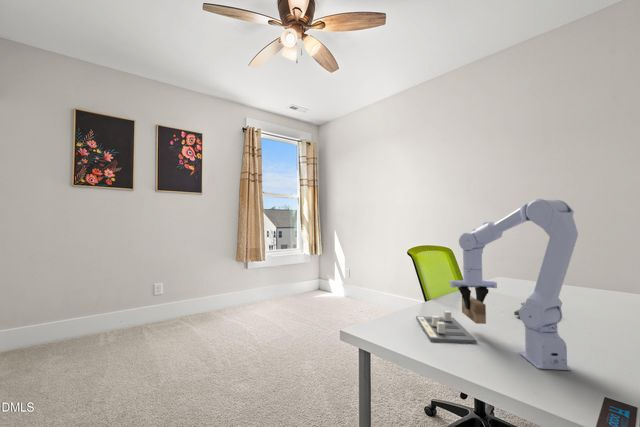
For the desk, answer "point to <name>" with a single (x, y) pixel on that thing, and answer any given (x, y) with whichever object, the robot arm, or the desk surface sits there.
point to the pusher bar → (475, 311)
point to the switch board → (452, 331)
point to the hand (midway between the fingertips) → (473, 309)
